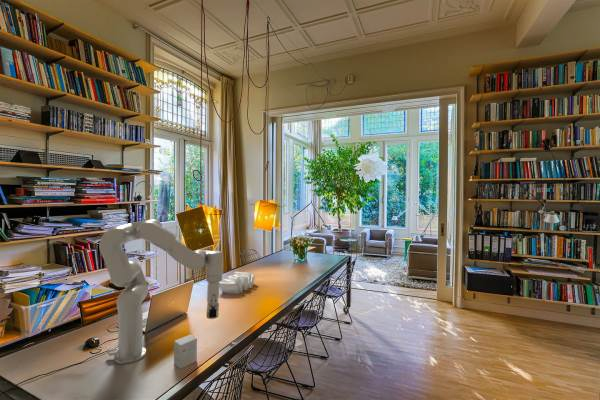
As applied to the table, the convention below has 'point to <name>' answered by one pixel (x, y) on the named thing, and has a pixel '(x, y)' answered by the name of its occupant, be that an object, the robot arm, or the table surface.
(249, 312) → the table surface
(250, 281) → the wavy white extrusion
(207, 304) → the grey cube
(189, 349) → the small box
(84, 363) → the table surface
